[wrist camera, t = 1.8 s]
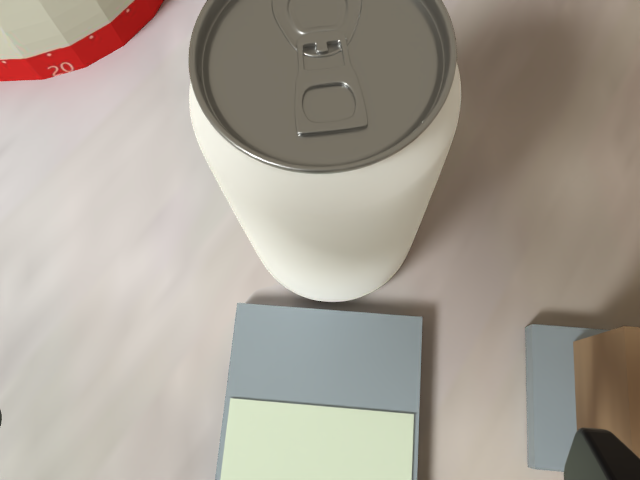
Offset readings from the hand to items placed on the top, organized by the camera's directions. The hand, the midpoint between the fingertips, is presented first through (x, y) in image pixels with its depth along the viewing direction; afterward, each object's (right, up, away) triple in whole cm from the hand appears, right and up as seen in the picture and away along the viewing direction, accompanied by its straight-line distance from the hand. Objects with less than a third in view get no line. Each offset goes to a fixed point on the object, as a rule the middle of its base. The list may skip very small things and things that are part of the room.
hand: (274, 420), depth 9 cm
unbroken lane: (+1, -7, +12) cm, 13 cm away
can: (+1, +3, +15) cm, 15 cm away
